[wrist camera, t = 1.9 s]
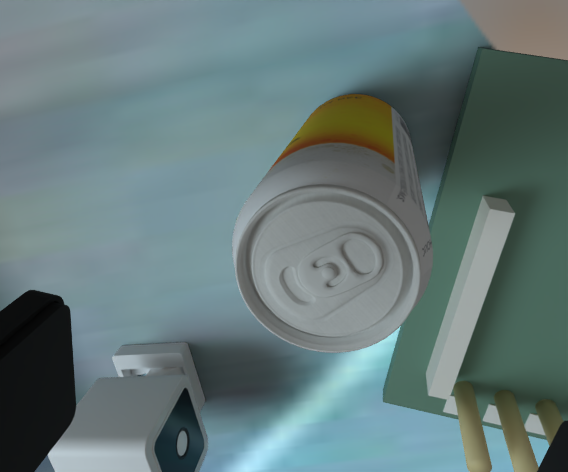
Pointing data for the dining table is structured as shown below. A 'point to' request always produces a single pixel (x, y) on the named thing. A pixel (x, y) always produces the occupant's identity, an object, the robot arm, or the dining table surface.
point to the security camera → (138, 416)
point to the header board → (497, 267)
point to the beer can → (337, 231)
